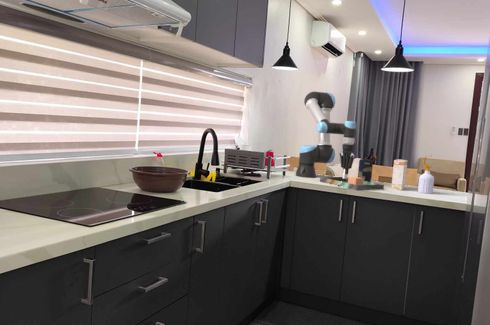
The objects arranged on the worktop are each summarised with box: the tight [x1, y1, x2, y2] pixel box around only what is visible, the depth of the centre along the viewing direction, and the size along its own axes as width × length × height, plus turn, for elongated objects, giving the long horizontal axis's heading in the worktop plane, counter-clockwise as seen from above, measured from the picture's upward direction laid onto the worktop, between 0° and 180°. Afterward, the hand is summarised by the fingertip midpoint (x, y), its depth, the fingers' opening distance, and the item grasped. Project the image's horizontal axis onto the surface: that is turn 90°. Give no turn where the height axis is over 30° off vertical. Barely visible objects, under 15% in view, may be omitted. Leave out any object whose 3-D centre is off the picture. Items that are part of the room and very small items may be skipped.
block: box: [347, 176, 364, 185], centre depth 286 cm, size 7×7×6 cm
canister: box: [357, 157, 374, 182], centre depth 309 cm, size 10×10×18 cm
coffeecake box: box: [390, 158, 409, 191], centre depth 290 cm, size 15×7×20 cm, turn 152°
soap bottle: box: [417, 155, 435, 195], centre depth 280 cm, size 9×9×25 cm
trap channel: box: [319, 176, 385, 191], centre depth 289 cm, size 34×24×3 cm
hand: (344, 178), depth 294 cm, fingers closed
